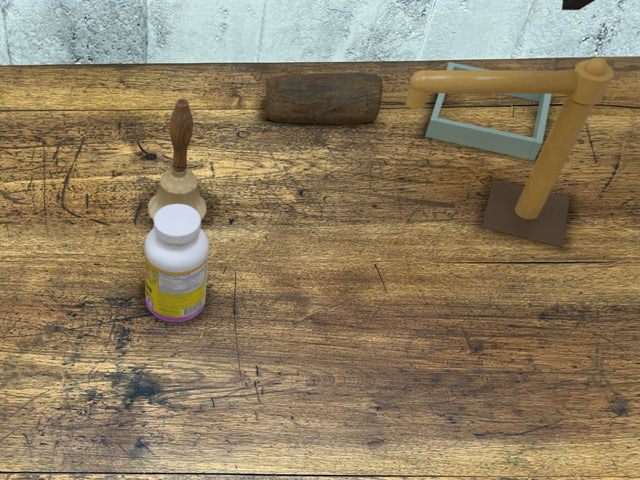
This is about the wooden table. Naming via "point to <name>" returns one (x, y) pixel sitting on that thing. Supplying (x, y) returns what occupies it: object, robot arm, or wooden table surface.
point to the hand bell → (179, 167)
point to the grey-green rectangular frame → (490, 137)
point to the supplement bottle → (176, 264)
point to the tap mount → (539, 186)
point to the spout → (515, 82)
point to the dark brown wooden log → (324, 98)
